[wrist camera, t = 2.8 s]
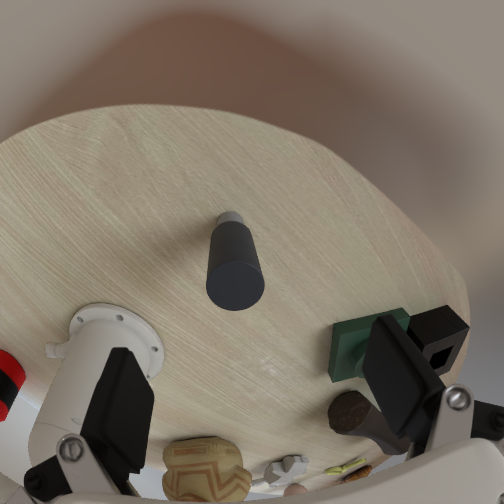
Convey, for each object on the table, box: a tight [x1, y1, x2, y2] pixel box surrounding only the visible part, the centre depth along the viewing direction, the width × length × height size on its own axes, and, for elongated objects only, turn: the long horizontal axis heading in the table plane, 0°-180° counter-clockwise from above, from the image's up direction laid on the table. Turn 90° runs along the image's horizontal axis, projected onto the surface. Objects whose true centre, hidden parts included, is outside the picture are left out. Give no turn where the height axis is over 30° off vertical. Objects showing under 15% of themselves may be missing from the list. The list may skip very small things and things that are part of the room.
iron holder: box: [406, 305, 470, 376], centre depth 32 cm, size 9×9×6 cm
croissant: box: [340, 465, 372, 484], centre depth 59 cm, size 14×7×5 cm, turn 151°
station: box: [328, 308, 410, 383], centre depth 31 cm, size 10×9×4 cm
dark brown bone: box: [328, 390, 411, 455], centre depth 39 cm, size 11×10×28 cm
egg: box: [283, 484, 308, 497], centre depth 54 cm, size 7×7×8 cm
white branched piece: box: [251, 456, 309, 487], centre depth 46 cm, size 10×5×15 cm
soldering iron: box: [206, 212, 265, 311], centre depth 20 cm, size 3×3×11 cm
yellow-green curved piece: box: [325, 458, 366, 475], centre depth 54 cm, size 7×12×2 cm, turn 153°
